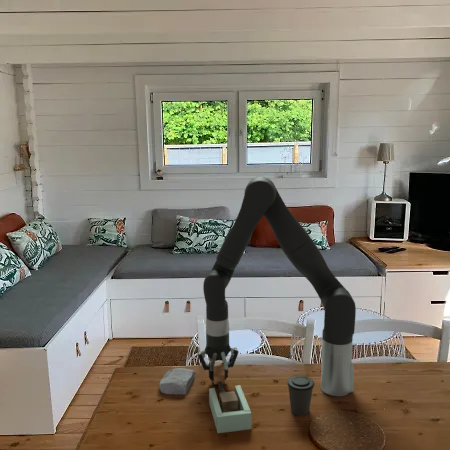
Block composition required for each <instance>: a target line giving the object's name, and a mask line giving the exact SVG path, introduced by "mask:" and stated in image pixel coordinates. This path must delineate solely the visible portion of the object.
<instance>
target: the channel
mask: <svg viewBox="0 0 450 450" xmlns="http://www.w3.org/2000/svg"><path fill="white" fill-rule="evenodd" d="M234 392H235V394H236V397H237V399H238V411H235V412H226V413H222V412H221V408H220V401H219V399H218V395H217V392H216V388H215V387H212V388H208V393H209V394H208V395H209V396H208V399H209V407H210V411H211V414H212V418H213V421H214V425H215V430H216V432H217V434H224V433H230V432H232V433H233V432H239V431H240V432H241V431H247V430H252V411H251V409H250V406H249V403H248V401H247V399H246V396H245V394H244V391H243V390H242V385H240V384H239V385H235V386H234Z"/></svg>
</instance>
